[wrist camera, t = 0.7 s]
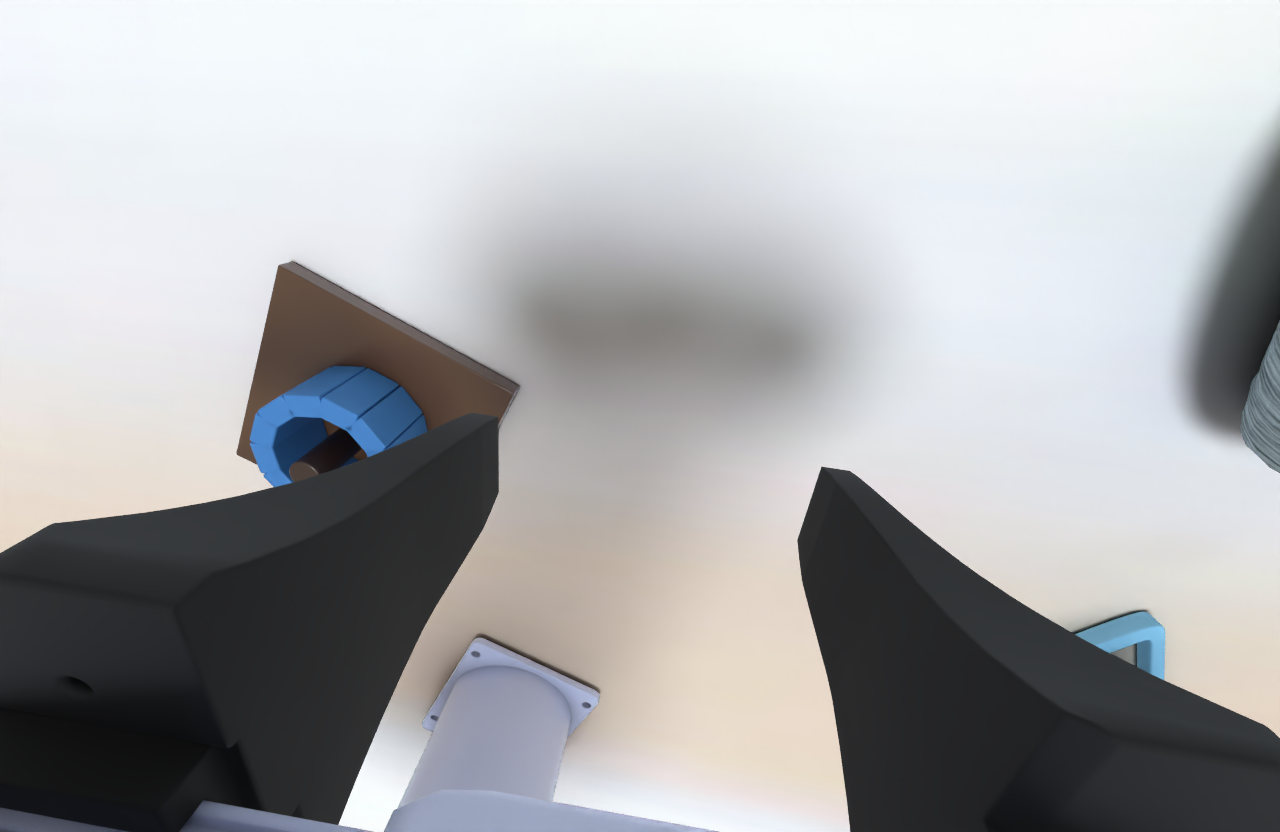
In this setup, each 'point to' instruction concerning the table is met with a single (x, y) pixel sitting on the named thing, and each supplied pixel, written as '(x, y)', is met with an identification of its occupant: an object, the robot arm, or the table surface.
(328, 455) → the brown square board
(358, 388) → the tape
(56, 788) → the robot arm
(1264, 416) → the spool
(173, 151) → the table surface
